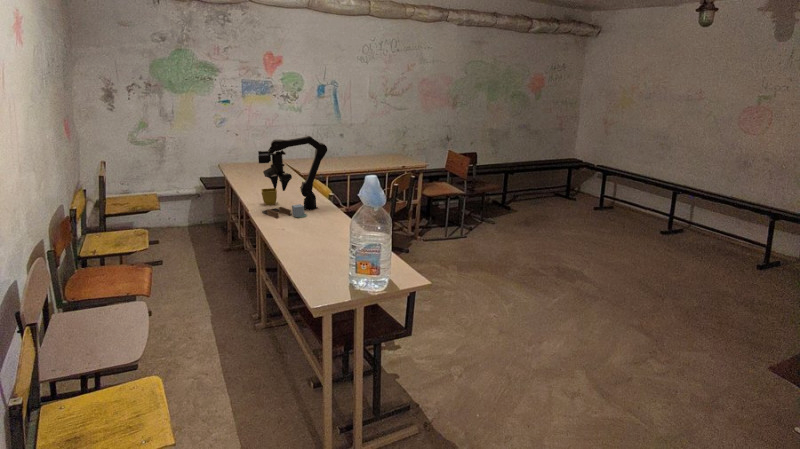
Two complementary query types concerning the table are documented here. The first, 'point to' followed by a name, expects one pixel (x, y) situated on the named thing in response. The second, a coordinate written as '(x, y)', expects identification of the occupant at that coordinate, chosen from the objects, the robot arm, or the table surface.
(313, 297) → the table surface
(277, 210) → the tray
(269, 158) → the robot arm
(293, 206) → the block
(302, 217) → the coaster
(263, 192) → the flower pot
